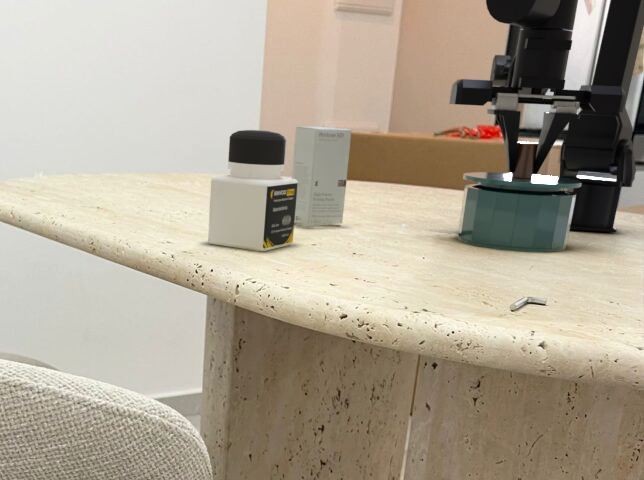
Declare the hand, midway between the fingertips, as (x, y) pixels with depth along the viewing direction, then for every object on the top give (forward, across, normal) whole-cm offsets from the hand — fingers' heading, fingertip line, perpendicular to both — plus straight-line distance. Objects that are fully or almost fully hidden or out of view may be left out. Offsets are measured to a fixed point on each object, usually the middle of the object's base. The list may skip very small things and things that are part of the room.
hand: (522, 173), depth 113 cm
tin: (+8, 0, 0) cm, 8 cm away
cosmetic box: (+8, +24, -5) cm, 26 cm away
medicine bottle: (+8, +31, +15) cm, 35 cm away
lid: (+1, 0, 0) cm, 1 cm away
